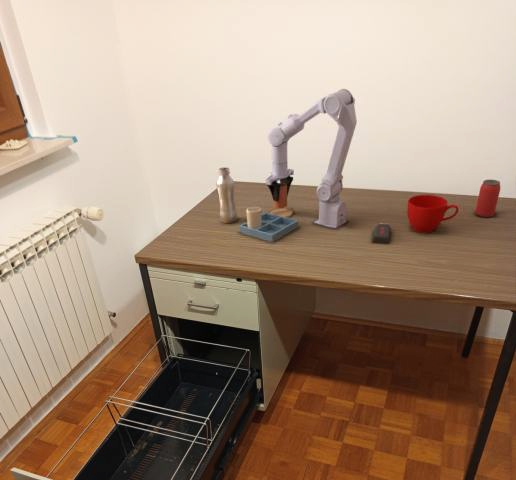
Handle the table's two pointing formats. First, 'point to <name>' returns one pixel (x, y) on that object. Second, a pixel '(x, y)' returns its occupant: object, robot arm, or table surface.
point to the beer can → (488, 198)
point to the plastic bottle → (226, 196)
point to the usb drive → (381, 233)
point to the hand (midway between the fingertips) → (280, 198)
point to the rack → (270, 227)
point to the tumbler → (282, 197)
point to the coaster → (282, 212)
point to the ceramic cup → (427, 212)
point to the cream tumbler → (254, 217)
